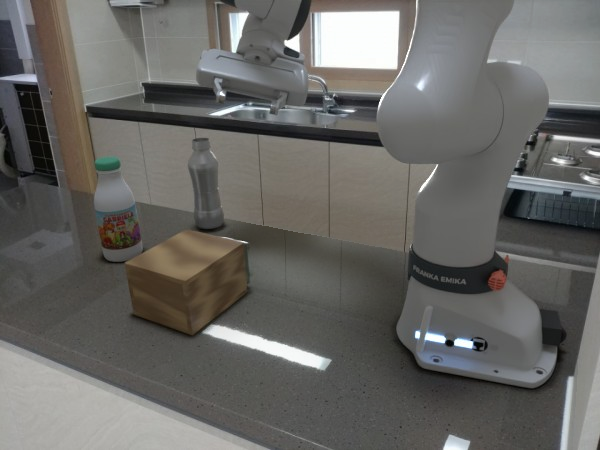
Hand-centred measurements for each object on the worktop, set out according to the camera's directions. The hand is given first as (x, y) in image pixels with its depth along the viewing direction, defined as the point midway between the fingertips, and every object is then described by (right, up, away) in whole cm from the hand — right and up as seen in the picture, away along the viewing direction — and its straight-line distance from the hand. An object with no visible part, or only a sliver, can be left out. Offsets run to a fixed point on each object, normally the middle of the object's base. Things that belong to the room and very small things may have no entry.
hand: (247, 106), depth 93 cm
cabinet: (-9, -34, -2) cm, 35 cm away
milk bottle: (-27, -27, +16) cm, 41 cm away
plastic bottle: (-11, -21, +28) cm, 37 cm away
